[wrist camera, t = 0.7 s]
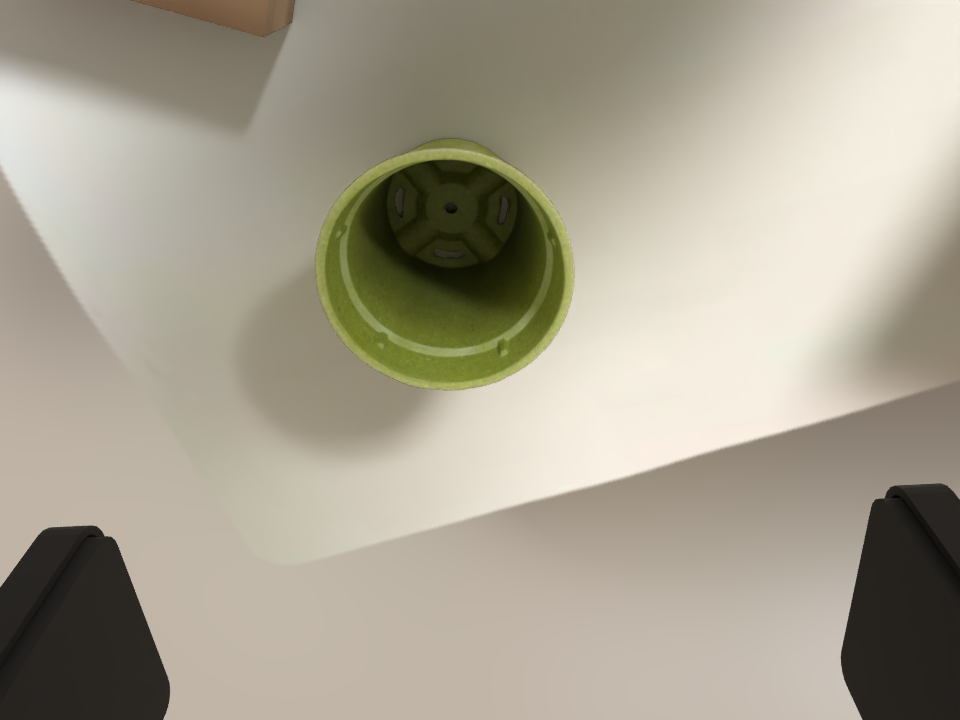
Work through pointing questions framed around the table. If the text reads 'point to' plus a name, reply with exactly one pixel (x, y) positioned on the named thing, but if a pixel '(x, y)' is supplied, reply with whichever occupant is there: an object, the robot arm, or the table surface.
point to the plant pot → (445, 268)
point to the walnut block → (234, 13)
